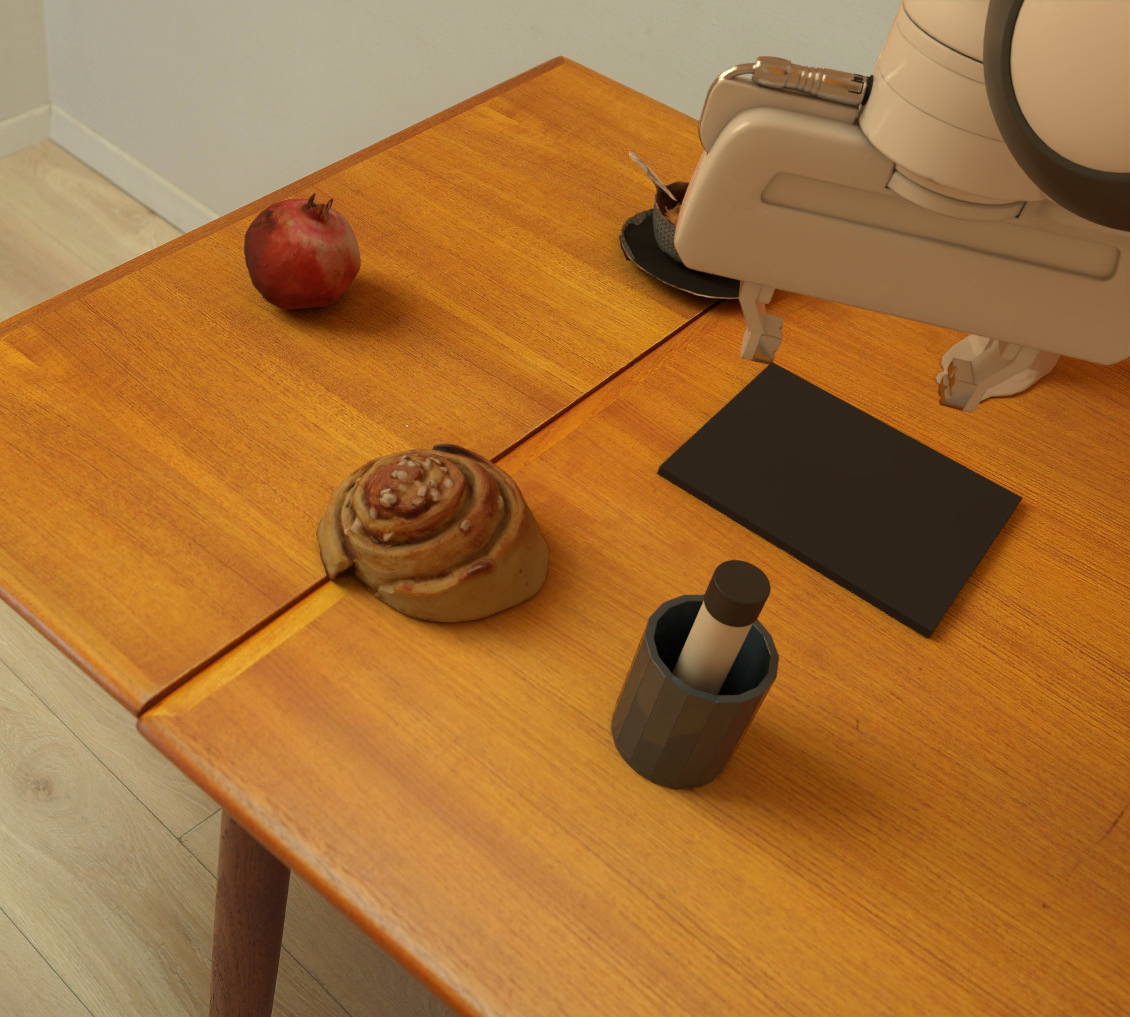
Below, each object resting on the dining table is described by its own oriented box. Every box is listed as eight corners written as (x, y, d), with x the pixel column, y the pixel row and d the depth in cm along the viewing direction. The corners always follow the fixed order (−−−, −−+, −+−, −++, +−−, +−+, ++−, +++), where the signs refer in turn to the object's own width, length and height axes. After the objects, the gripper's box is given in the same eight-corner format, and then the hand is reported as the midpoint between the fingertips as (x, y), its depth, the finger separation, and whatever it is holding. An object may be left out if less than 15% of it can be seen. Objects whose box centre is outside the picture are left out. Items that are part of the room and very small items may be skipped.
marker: (707, 729, 70) (781, 581, 60) (681, 760, 68) (753, 613, 58) (665, 700, 71) (731, 550, 61) (639, 730, 69) (703, 581, 59)
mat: (1018, 504, 88) (1023, 497, 88) (928, 639, 78) (933, 631, 77) (769, 368, 97) (772, 361, 96) (656, 473, 86) (659, 465, 86)
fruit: (220, 292, 95) (217, 184, 88) (303, 250, 101) (306, 146, 93) (298, 345, 92) (301, 237, 84) (380, 298, 97) (389, 194, 90)
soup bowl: (682, 327, 99) (706, 255, 94) (578, 229, 108) (595, 157, 103) (809, 290, 106) (837, 220, 100) (700, 200, 114) (722, 131, 109)
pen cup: (752, 733, 71) (801, 645, 64) (691, 813, 66) (737, 727, 60) (652, 664, 74) (689, 573, 67) (587, 736, 69) (620, 647, 63)
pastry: (293, 507, 79) (295, 421, 74) (488, 462, 85) (504, 378, 79) (363, 655, 71) (372, 572, 66) (573, 595, 77) (598, 512, 71)
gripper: (715, 80, 43) (631, 366, 53) (1272, 202, 42) (1078, 473, 52) (725, 15, 48) (646, 290, 57) (1230, 123, 46) (1059, 387, 56)
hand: (854, 378), depth 54 cm, fingers open, 8 cm apart
